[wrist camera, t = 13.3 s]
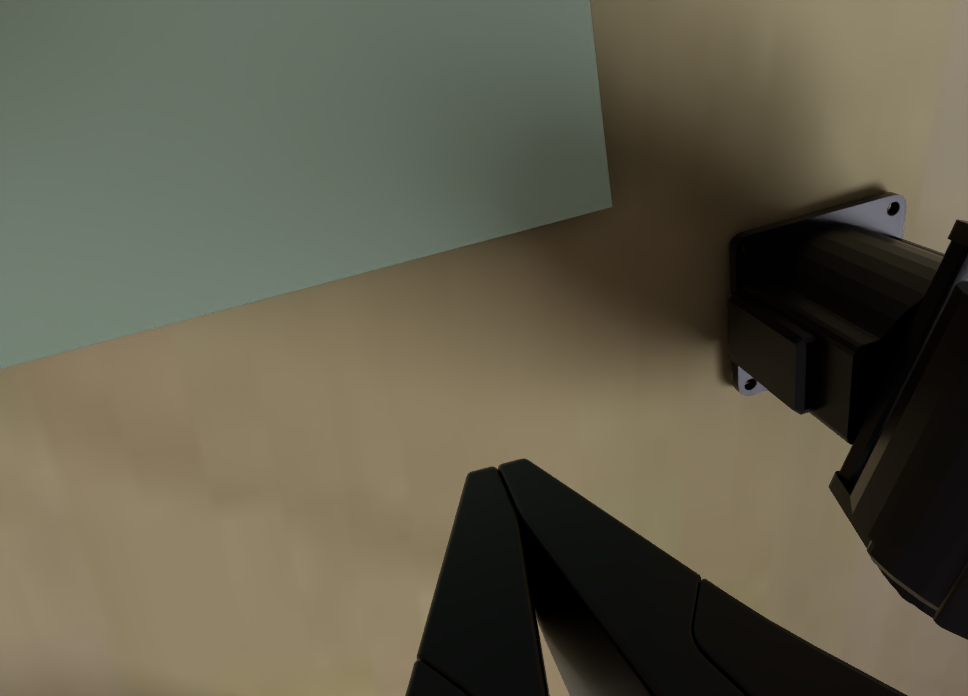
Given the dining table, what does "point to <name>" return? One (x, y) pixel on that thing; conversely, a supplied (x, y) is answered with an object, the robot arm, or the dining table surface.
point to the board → (273, 148)
